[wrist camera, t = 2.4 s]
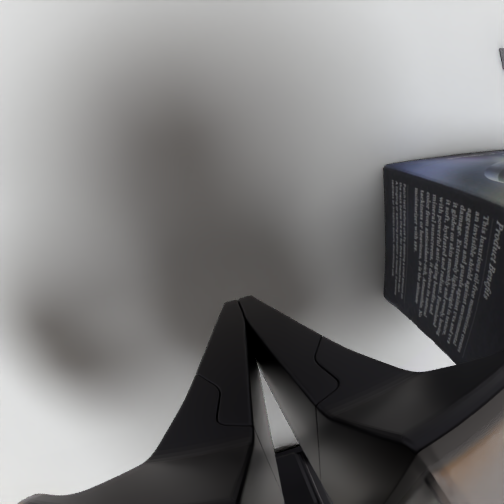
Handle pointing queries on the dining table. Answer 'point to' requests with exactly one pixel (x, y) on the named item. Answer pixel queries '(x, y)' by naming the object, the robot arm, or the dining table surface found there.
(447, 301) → the small box
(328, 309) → the dining table surface
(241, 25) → the dining table surface
